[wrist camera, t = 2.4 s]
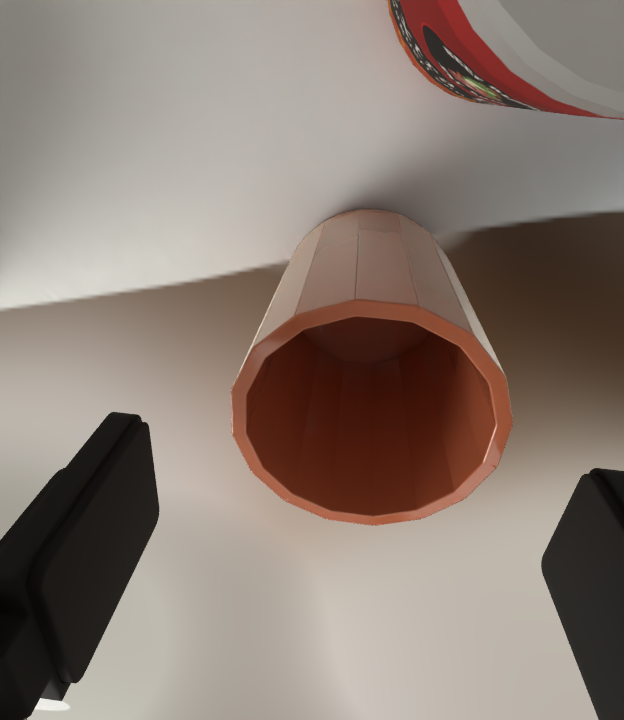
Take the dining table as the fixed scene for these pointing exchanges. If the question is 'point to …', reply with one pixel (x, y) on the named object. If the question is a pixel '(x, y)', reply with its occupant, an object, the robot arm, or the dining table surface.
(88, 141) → the dining table surface
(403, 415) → the terracotta cup
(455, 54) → the canned food
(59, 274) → the dining table surface
